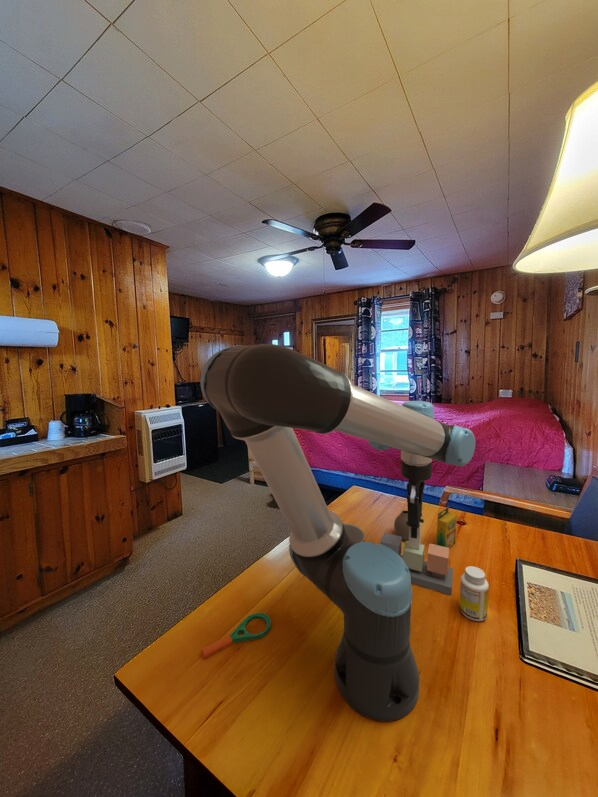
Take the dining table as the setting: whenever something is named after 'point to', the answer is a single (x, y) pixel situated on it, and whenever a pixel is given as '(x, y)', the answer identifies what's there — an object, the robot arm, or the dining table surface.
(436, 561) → the button terracotta
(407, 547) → the button sage
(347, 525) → the teacup
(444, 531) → the crayon box
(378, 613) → the robot arm
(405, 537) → the vase
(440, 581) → the button board
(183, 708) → the dining table surface
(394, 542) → the button slate
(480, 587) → the supplement bottle
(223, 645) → the magnifying glass
